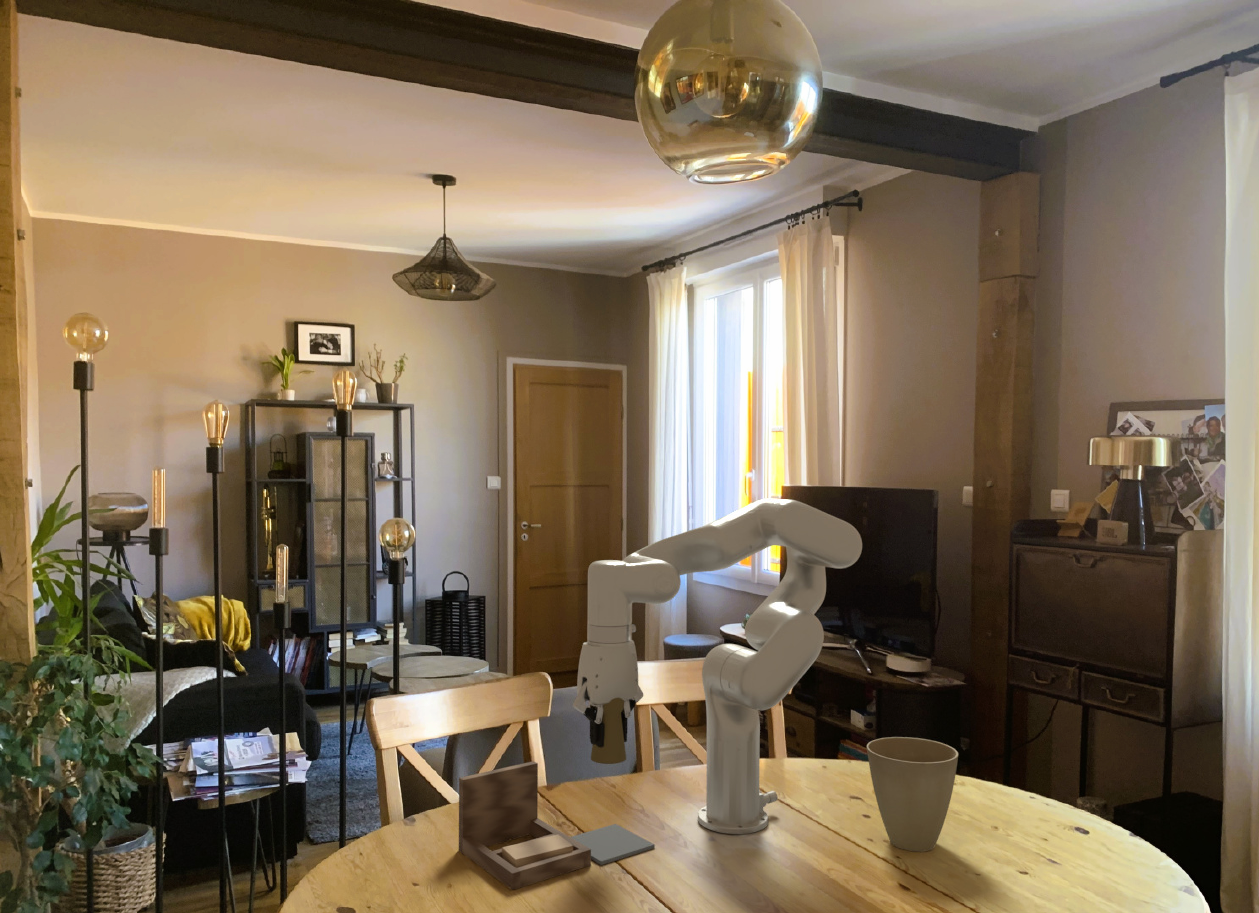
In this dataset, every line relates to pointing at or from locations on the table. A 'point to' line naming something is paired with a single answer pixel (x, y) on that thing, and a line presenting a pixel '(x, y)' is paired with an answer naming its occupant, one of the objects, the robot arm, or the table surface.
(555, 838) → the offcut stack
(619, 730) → the olive pawn
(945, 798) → the plant pot
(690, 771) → the table surface
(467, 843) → the open walnut box
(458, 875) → the table surface
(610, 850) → the slate mat
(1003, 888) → the table surface
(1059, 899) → the table surface
